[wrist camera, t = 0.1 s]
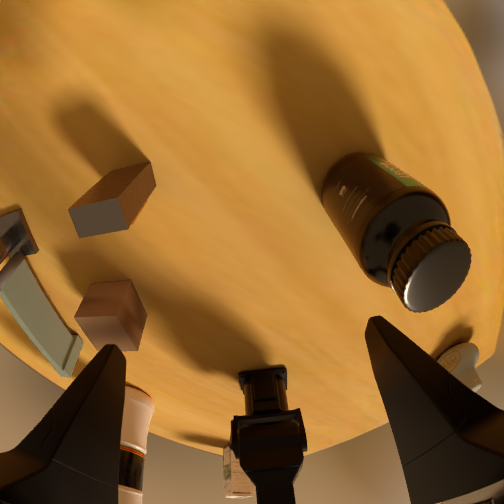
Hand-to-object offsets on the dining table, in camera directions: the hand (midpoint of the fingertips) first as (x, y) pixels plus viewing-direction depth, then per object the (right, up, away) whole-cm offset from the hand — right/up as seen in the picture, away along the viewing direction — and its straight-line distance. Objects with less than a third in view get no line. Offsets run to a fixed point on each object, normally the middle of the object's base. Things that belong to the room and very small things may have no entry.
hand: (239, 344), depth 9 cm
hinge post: (-25, +5, +12) cm, 28 cm away
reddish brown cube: (-14, -2, +18) cm, 23 cm away
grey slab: (-24, -3, +17) cm, 29 cm away
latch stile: (-9, +9, +11) cm, 17 cm away
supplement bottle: (+9, +8, +13) cm, 18 cm away
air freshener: (+39, -17, +32) cm, 53 cm away
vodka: (-20, -21, +30) cm, 42 cm away
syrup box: (-3, -45, +48) cm, 66 cm away
